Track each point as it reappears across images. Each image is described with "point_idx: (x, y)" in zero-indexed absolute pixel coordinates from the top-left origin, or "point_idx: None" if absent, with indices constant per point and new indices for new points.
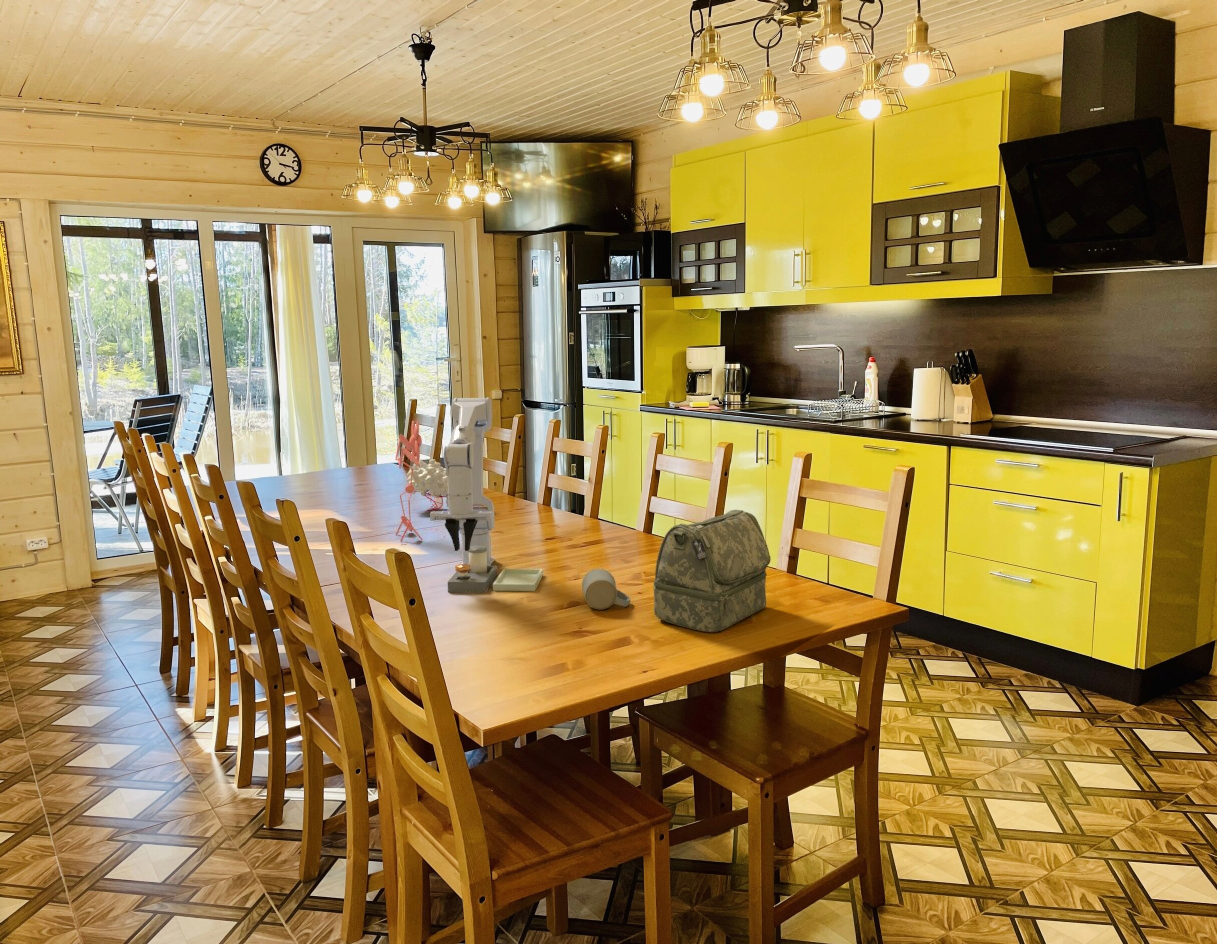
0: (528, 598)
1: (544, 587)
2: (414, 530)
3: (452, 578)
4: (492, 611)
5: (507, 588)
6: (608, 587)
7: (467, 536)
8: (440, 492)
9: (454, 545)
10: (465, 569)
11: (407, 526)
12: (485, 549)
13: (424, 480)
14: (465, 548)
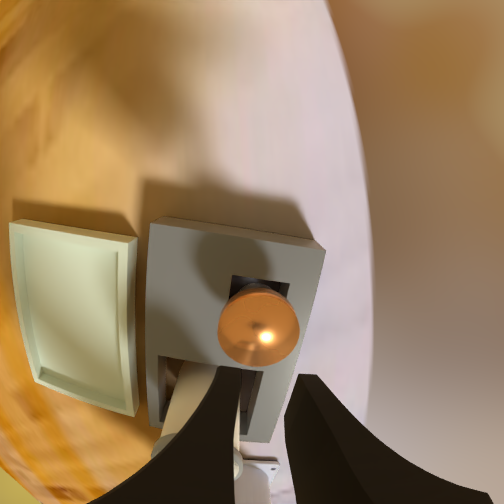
0: (34, 138)
1: (9, 255)
2: None
3: (304, 301)
4: (143, 4)
5: (85, 231)
6: None
7: (199, 445)
8: None
9: (331, 395)
10: (242, 296)
11: None
12: (154, 449)
13: None
14: (235, 375)
